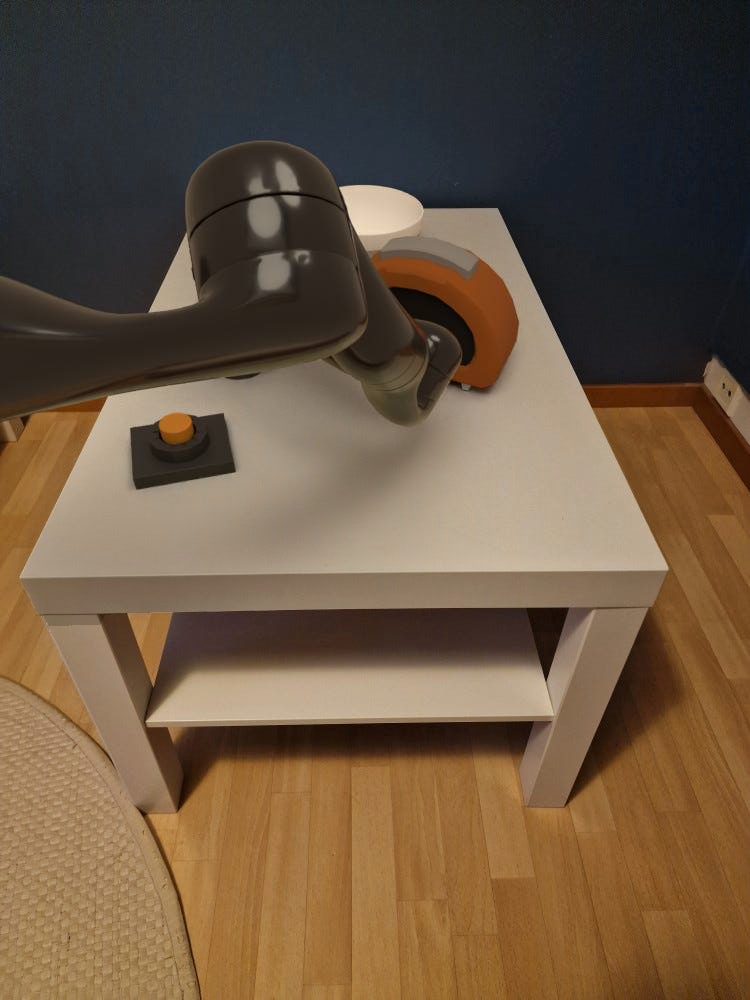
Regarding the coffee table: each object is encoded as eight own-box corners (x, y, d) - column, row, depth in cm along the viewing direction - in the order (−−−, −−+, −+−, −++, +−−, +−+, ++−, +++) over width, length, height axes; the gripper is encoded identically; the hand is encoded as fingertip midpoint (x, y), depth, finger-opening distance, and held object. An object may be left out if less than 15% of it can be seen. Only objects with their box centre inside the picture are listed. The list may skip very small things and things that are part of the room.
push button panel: (136, 489, 76) (128, 466, 74) (133, 438, 82) (126, 415, 80) (235, 472, 78) (231, 449, 76) (225, 423, 84) (221, 400, 82)
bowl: (411, 233, 122) (413, 183, 115) (429, 286, 109) (433, 232, 102) (304, 237, 120) (301, 186, 114) (310, 292, 107) (306, 237, 101)
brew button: (163, 447, 76) (159, 435, 75) (160, 427, 79) (157, 415, 78) (195, 441, 77) (192, 429, 76) (192, 422, 80) (189, 410, 78)
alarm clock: (330, 357, 95) (325, 239, 83) (357, 325, 100) (357, 211, 88) (493, 401, 88) (514, 281, 76) (513, 365, 94) (535, 247, 82)
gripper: (349, 259, 78) (254, 214, 86) (250, 306, 71) (156, 251, 79) (351, 318, 83) (261, 270, 91) (258, 367, 76) (170, 310, 84)
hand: (213, 262), depth 85 cm, fingers closed on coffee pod, 4 cm apart
